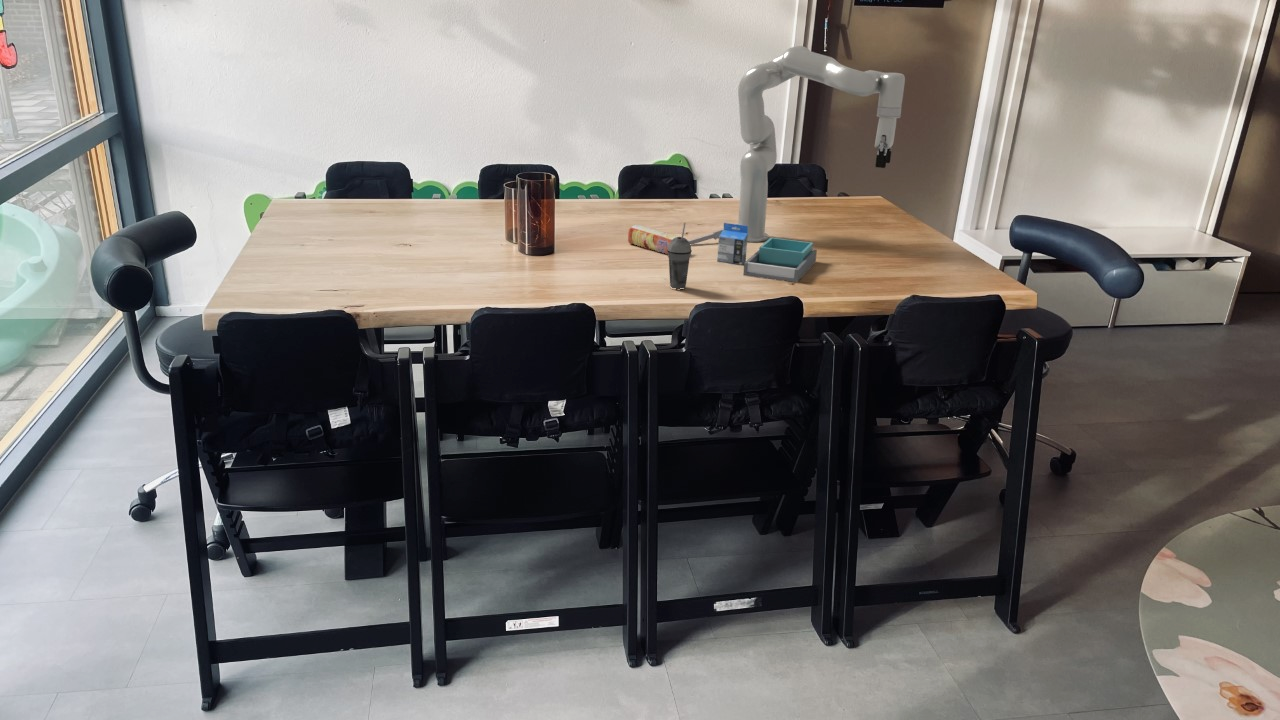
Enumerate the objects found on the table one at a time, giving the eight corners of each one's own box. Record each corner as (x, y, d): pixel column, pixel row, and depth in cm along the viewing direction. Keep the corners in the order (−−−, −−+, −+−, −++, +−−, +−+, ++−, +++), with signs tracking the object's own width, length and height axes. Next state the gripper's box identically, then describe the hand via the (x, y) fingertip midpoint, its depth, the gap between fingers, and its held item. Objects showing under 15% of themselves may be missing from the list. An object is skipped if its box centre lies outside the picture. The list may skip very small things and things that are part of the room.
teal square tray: (758, 262, 323) (759, 247, 321) (769, 252, 335) (770, 237, 333) (801, 268, 318) (803, 252, 316) (811, 257, 330) (813, 242, 328)
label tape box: (716, 261, 327) (718, 224, 323) (721, 258, 331) (723, 222, 326) (741, 265, 324) (744, 228, 319) (746, 262, 327) (748, 225, 322)
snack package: (684, 254, 335) (685, 234, 332) (671, 258, 330) (671, 238, 328) (639, 241, 348) (640, 222, 346) (626, 245, 344) (626, 225, 341)
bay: (743, 275, 313) (744, 262, 312) (765, 255, 336) (766, 243, 334) (796, 282, 307) (798, 270, 306) (815, 261, 330) (816, 250, 328)
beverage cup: (664, 284, 302) (666, 219, 295) (688, 284, 303) (691, 219, 295) (667, 291, 295) (669, 225, 288) (691, 291, 296) (694, 225, 288)
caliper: (730, 241, 352) (731, 224, 350) (731, 242, 352) (732, 224, 349) (678, 246, 344) (679, 228, 342) (680, 247, 343) (681, 229, 341)
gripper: (881, 108, 332) (875, 159, 339) (872, 114, 317) (866, 168, 324) (904, 110, 330) (897, 161, 336) (896, 116, 315) (890, 170, 321)
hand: (882, 165), depth 330 cm, fingers open, 9 cm apart
